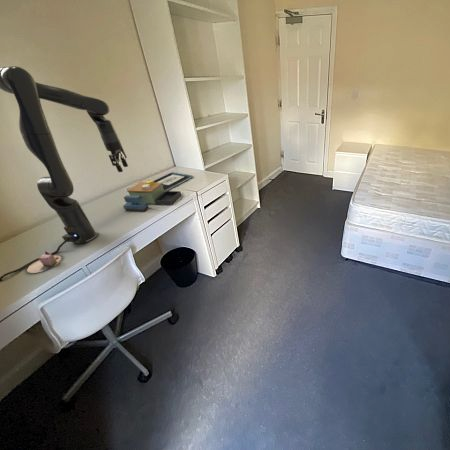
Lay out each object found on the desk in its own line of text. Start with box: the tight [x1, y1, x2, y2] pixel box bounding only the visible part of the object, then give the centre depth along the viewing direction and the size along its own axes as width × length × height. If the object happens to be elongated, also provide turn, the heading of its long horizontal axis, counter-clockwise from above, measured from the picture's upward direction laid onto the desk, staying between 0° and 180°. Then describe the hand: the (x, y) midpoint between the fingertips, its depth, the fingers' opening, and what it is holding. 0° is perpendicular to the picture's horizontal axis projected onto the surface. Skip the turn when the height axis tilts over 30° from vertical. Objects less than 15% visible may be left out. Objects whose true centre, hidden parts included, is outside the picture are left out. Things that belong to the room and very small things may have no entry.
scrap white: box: [141, 184, 151, 190], centre depth 158 cm, size 4×4×2 cm
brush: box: [122, 195, 150, 212], centre depth 153 cm, size 12×5×9 cm, turn 84°
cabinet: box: [126, 181, 165, 205], centre depth 163 cm, size 13×16×9 cm
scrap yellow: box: [144, 179, 155, 186], centre depth 163 cm, size 4×4×2 cm
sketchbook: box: [153, 171, 194, 191], centre depth 188 cm, size 22×30×2 cm
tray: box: [154, 190, 182, 206], centre depth 164 cm, size 13×10×3 cm
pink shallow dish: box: [26, 251, 62, 275], centre depth 114 cm, size 12×12×4 cm
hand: (123, 169), depth 147 cm, fingers open, 8 cm apart
